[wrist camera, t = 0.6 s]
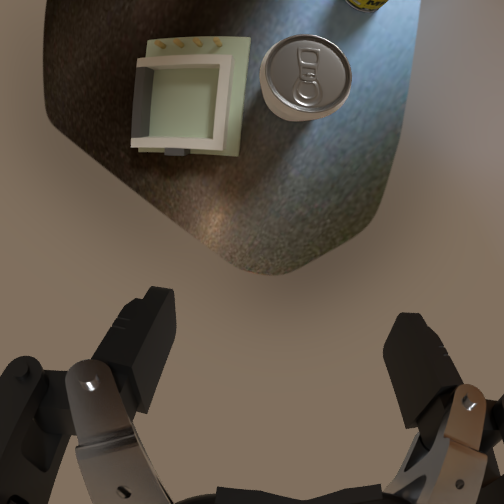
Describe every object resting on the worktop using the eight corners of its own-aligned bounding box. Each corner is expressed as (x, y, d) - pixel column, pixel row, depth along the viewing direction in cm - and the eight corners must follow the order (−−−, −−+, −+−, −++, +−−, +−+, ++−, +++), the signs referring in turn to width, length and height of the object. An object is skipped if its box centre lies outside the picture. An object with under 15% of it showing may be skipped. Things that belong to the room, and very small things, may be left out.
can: (261, 119, 28) (256, 115, 17) (263, 62, 25) (259, 25, 14) (323, 124, 27) (356, 125, 17) (326, 67, 25) (358, 36, 14)
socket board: (152, 42, 24) (138, 35, 21) (250, 40, 24) (248, 30, 21) (142, 150, 30) (128, 154, 26) (239, 155, 29) (235, 159, 26)
